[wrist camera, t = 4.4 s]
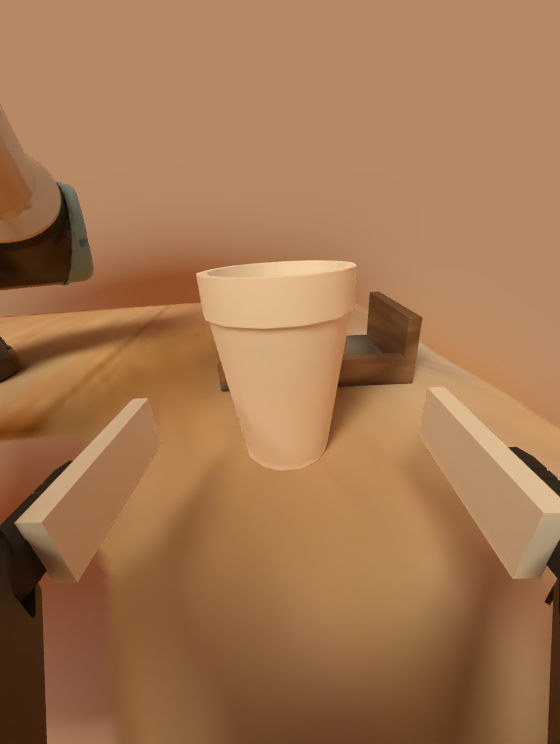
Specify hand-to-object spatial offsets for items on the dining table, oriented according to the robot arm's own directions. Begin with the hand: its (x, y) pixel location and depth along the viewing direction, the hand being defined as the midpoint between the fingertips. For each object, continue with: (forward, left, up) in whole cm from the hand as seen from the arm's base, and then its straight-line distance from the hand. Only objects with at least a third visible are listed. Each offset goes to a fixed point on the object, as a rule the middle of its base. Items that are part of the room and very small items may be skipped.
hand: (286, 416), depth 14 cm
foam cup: (0, +7, -7) cm, 10 cm away
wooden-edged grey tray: (+3, +23, -7) cm, 24 cm away
